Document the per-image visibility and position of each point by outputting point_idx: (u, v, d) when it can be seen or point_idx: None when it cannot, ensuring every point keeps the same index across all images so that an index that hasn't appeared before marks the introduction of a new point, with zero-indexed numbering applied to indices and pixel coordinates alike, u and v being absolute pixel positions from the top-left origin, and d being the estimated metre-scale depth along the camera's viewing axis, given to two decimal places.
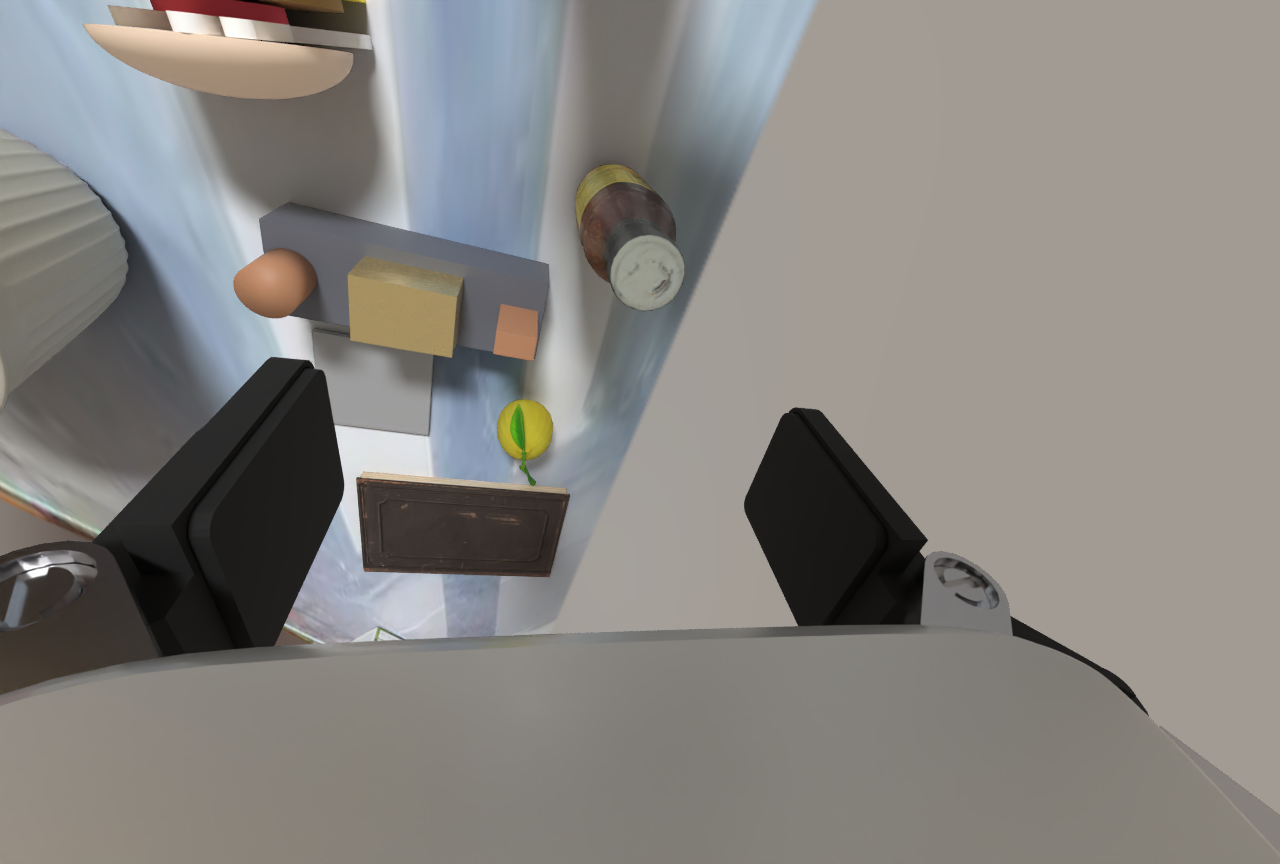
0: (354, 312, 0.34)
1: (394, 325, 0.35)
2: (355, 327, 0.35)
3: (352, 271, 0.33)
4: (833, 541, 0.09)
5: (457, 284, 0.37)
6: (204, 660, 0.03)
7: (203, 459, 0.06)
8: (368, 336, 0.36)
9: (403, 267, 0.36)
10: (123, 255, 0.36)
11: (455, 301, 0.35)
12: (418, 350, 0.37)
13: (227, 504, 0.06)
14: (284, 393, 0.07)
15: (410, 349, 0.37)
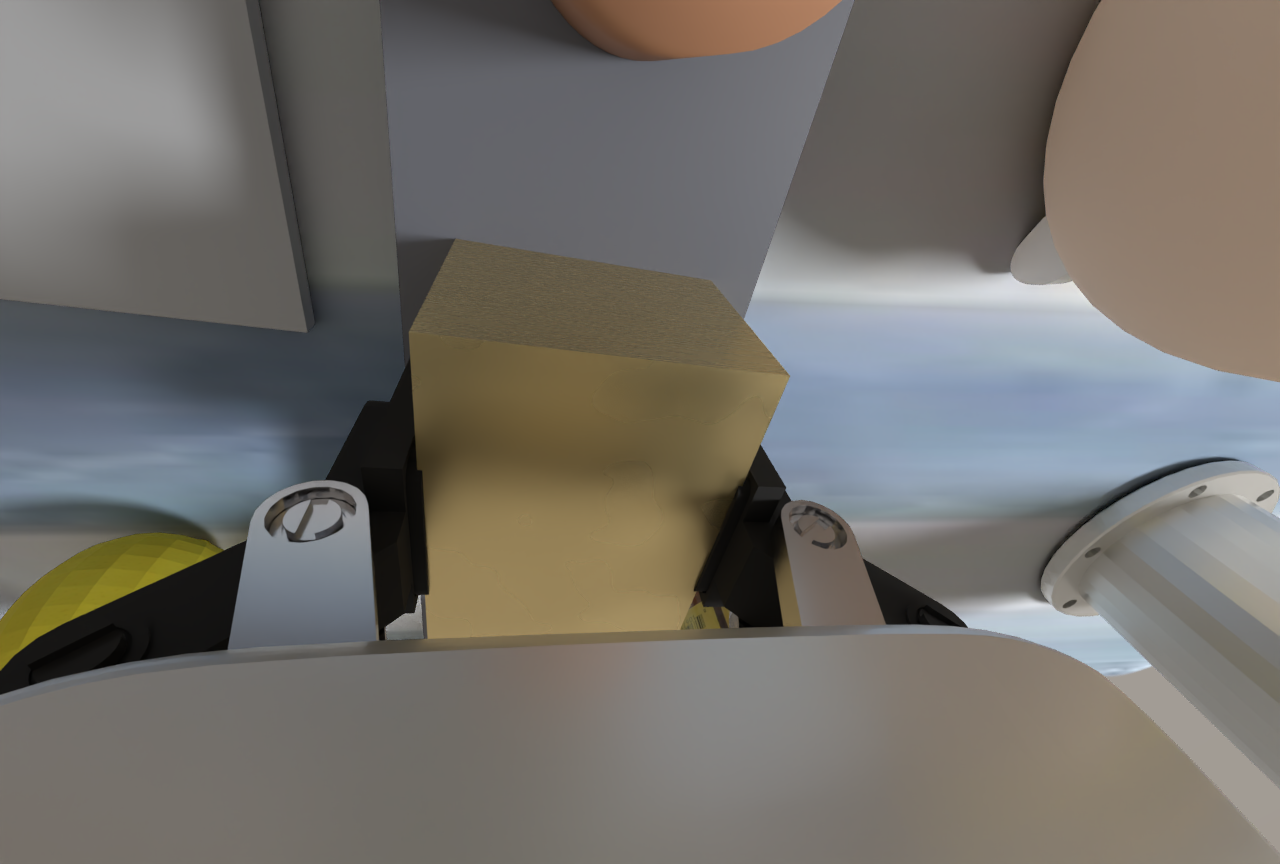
0: (598, 377, 0.06)
1: (542, 514, 0.08)
2: (507, 369, 0.06)
3: None
4: None
5: None
6: (204, 660, 0.03)
7: (402, 422, 0.07)
8: (461, 421, 0.06)
9: None
10: None
11: None
12: (432, 583, 0.08)
13: None
14: None
15: (429, 561, 0.08)
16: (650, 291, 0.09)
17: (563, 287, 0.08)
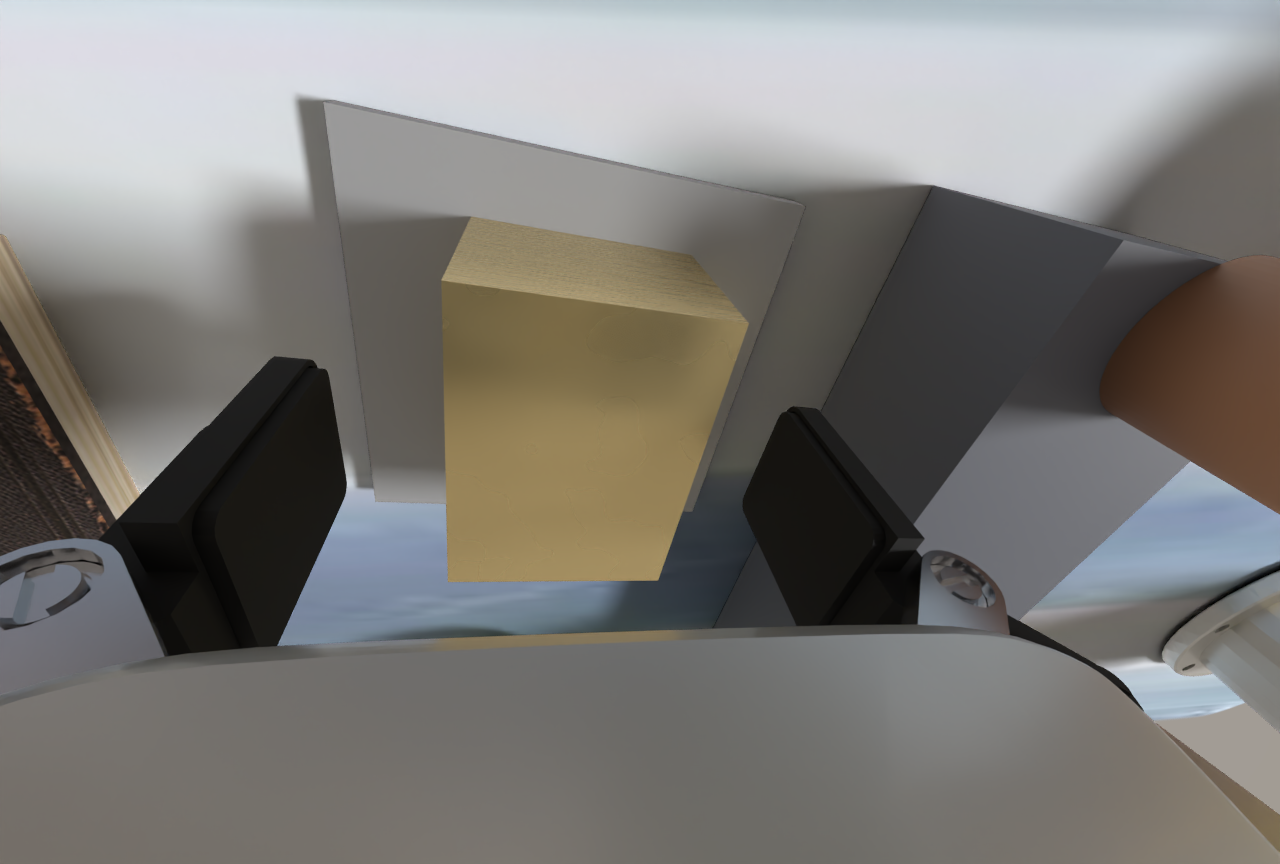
0: (591, 321, 0.08)
1: (546, 444, 0.09)
2: (518, 313, 0.08)
3: None
4: (831, 540, 0.09)
5: None
6: (204, 660, 0.03)
7: (208, 458, 0.06)
8: (481, 357, 0.08)
9: None
10: None
11: (645, 578, 0.12)
12: (453, 506, 0.10)
13: (232, 502, 0.06)
14: (288, 392, 0.07)
15: (451, 485, 0.09)
16: (636, 260, 0.10)
17: (562, 254, 0.09)
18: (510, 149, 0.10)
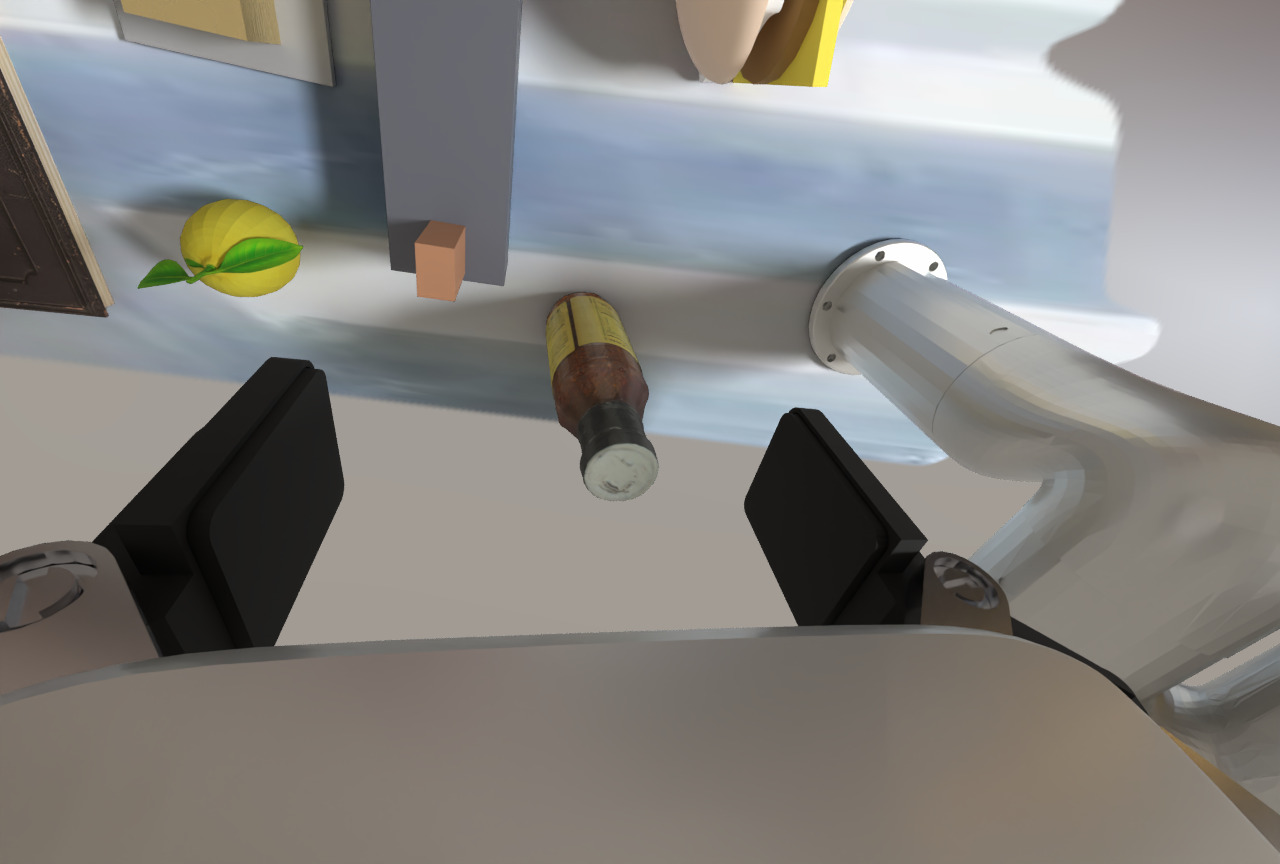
0: None
1: None
2: None
3: None
4: (833, 541, 0.09)
5: (267, 37, 0.26)
6: (204, 660, 0.03)
7: (203, 459, 0.06)
8: None
9: None
10: None
11: (238, 37, 0.24)
12: None
13: (227, 504, 0.06)
14: (284, 393, 0.07)
15: None
16: None
17: None
18: None
